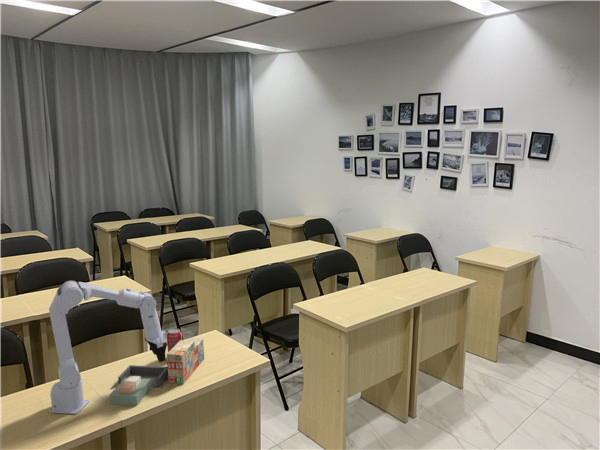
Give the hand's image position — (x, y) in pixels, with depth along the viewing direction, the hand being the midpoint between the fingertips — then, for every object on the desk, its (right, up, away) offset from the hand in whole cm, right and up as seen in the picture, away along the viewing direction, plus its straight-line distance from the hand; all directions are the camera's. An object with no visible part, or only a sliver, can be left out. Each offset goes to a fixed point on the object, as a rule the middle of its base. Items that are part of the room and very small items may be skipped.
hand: (159, 357), depth 172 cm
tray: (-7, -10, +4) cm, 13 cm away
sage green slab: (-8, -12, -7) cm, 16 cm away
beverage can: (0, -7, +23) cm, 24 cm away
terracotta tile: (-8, -9, -10) cm, 16 cm away
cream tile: (-8, -8, -5) cm, 13 cm away
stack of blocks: (+8, -9, +12) cm, 17 cm away
